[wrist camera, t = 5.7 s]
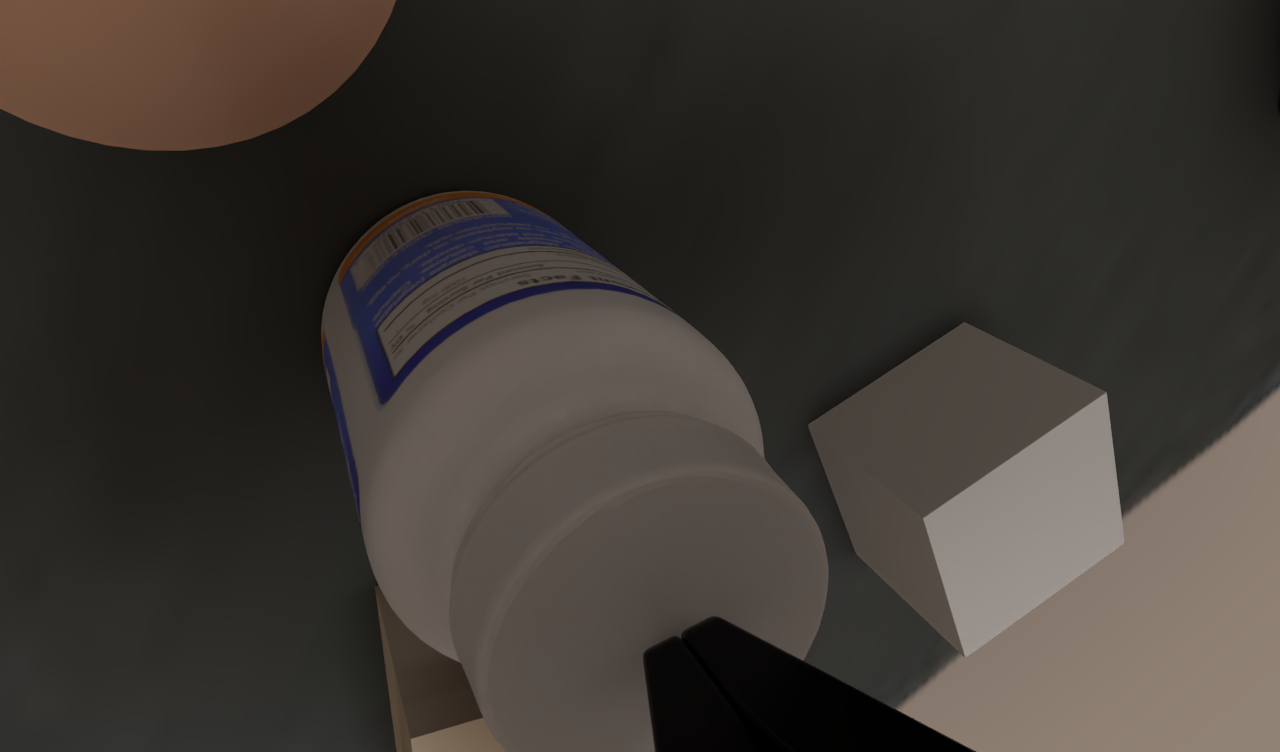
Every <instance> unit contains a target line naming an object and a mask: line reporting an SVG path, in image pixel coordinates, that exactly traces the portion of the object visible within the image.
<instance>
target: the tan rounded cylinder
mask: <svg viewBox="0 0 1280 752" xmlns="http://www.w3.org/2000/svg"><path fill="white" fill-rule="evenodd" d="M395 1H396V0H0V109H2V110H4V111H6V112H8V113H10V114H13V115H15V116H17V117H19V118H21V119H23V120H25V121H27V122H30V123H33V124H35V125H38V126H41V127H44V128H47V129H50V130H52V131H55V132H58V133H61V134H64V135H67V136H70V137H74V138H78V139H82V140H87V141H91V142H95V143H99V144H104V145H108V146H115V147H123V148H131V149H139V150H161V151H185V150H194V149H203V148H211V147H219V146H223V145H227V144H232V143H236V142H240V141H244V140H248V139H252V138H254V137H257V136H259V135H262V134H265V133H267V132H270V131H272V130H275V129H277V128H280V127H282V126H284V125H286V124H288V123H289V122H291V121H293V120H295V119H297V118H298V117H300V116H302V115H304V114H305V113H307V112H309V111H310V110H312V109H313V108H314V107H316V106H317V105H318V104H320V103H321V102H322V101H324V100H325V99H326V98H328V97H329V96H330V95H331V94H333V93H334V92H335V91H336V90H337V89H338V88H339V87H340V86H341V85H342V84H343V83H344V82H345V81H346V80H347V79H348V78H349V77H350V76H351V75H352V74H353V73H354V72H355V71H356V70H357V68H358V67H359V66H360V64H361V63H362V61H363V60H364V59H365V57H366V56H367V55H368V53H369V52H370V51H371V49H372V48H373V47H374V45H375V43H376V42H377V40H378V38H379V36H380V34H381V32H382V30H383V29H384V27H385V25H386V23H387V21H388V19H389V17H390V15H391V12H392V10H393V7H394V4H395Z"/></svg>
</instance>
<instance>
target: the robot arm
mask: <svg viewBox="0 0 1280 752" xmlns="http://www.w3.org/2000/svg"><path fill="white" fill-rule="evenodd" d="M643 665H644V673H645V680H646V688H647V696H648V703H649V711H650V718H651V726H652V734H653V741H654V749H655V752H976V751H974V750H972V749H970V748H968V747H966V746H964V745H962V744H960V743H959V742H957V741H955V740H953V739H951V738H949V737H947V736H945V735H943V734H941V733H939V732H938V731H936V730H934V729H932V728H930V727H928V726H926V725H924V724H922V723H921V722H919V721H917V720H915V719H913V718H911V717H909V716H907V715H905V714H903V713H902V712H900V711H898V710H896V709H894V708H892V707H890V706H888V705H886V704H884V703H883V702H881V701H879V700H877V699H875V698H873V697H871V696H869V695H867V694H865V693H863V692H862V691H860V690H858V689H856V688H854V687H852V686H850V685H848V684H846V683H844V682H843V681H841V680H839V679H837V678H835V677H833V676H831V675H829V674H827V673H825V672H824V671H822V670H820V669H818V668H816V667H814V666H812V665H810V664H808V663H806V662H805V661H803V660H801V659H799V658H797V657H795V656H793V655H791V654H789V653H787V652H786V651H784V650H782V649H780V648H778V647H776V646H774V645H772V644H770V643H768V642H766V641H765V640H763V639H761V638H759V637H757V636H755V635H753V634H751V633H749V632H747V631H746V630H744V629H742V628H740V627H738V626H736V625H734V624H732V623H730V622H728V621H727V620H725V619H723V618H721V617H717V616H711V617H709V618H707V619H705V620H703V621H701V622H699V623H697V624H695V625H693V626H691V627H689V628H687V629H685V630H684V631H683V632H682V634H681V638H680V637H678V636H672V637H669V638H667V639H666V640H664V641H662V642H660V643H658V644H656V645H654V646H652V647H650V648H648V649H646V650H645V652H644V653H643Z"/></svg>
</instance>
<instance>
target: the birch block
mask: <svg viewBox="0 0 1280 752" xmlns="http://www.w3.org/2000/svg"><path fill="white" fill-rule="evenodd" d="M375 592H376V600H377V608H378V615H379V623H380V630H381V638H382V645H383V653H384V661H385V668H386V676H387V683H388V691H389V698H390V706H391V714H392V721H393V729H394V736H395V744H396V751H397V752H507V751H506V750H505V749H504V748H503V747H502V746H501V745H500V743H499V742H498V741H497V740H496V739H495V737H494V736H493V734H492V732H491V730H490V729H489V727H488V725H487V723H486V721H485V719H484V718H483V716H482V714H481V712H480V709H479V706H478V704H477V701H476V699H475V696H474V693H473V691H472V688H471V686H470V683H469V681H468V678H467V676H466V674H465V671H464V669H463V666H462V664H461V663H460V662H458V661H456V660H454V659H451V658H449V657H447V656H445V655H443V654H442V653H440V652H438V651H437V650H435V649H434V648H432V647H430V646H429V645H427V644H426V643H425V642H423V641H422V640H420V639H419V638H418V637H417V636H416V635H415V634H414V633H413V632H412V631H411V630H410V629H408V628H407V627H406V625H405V624H404V623H403V622H402V621H401V619H400V618H399V617H398V616H397V615H396V614H395V612H394V611H393V610H392V608H391V607H390V605H389V604H388V602H387V600H386V598H385V596H384V595H383V593H382V591H381V589H380V587H379V585H377V586H375Z"/></svg>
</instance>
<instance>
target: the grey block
mask: <svg viewBox="0 0 1280 752" xmlns="http://www.w3.org/2000/svg"><path fill="white" fill-rule="evenodd" d="M808 428H809V430H810V433H811V436H812V438H813V441H814V444H815V446H816V449H817V452H818V454H819V457H820V459H821V462H822V465H823V467H824V470H825V473H826V475H827V478H828V481H829V483H830V486H831V489H832V491H833V494H834V497H835V499H836V502H837V505H838V507H839V510H840V513H841V515H842V518H843V521H844V523H845V526H846V528H847V531H848V534H849V536H850V539H851V542H852V544H853V547H854V550H855V552H856V554H857V555H858V556H859V557H860V558H861V559H862V560H863V561H864V562H865V563H866V564H867V565H868V566H869V567H870V568H871V569H873V570H874V571H875V572H876V573H877V574H878V575H879V576H880V577H881V578H882V579H883V580H884V581H885V582H886V583H887V584H888V585H889V586H890V587H891V588H892V589H894V590H895V591H896V592H897V593H898V594H899V595H900V596H901V597H902V598H903V599H904V600H905V601H906V602H907V603H908V604H909V605H910V606H911V607H912V608H913V609H915V610H916V611H917V612H918V613H919V614H920V615H921V616H922V617H923V618H924V619H925V620H926V621H927V622H928V623H929V624H930V625H931V626H932V627H933V628H934V629H936V630H937V631H938V632H939V633H940V634H941V635H942V636H943V637H944V638H945V639H946V640H947V641H948V642H949V643H950V644H951V645H952V646H953V647H954V648H956V649H957V650H958V651H959V652H960V653H961V654H962V655H963V656H964V657H965V658H966V657H968V656H969V655H970V654H972V653H973V652H974V651H976V650H977V649H979V648H980V647H981V646H983V645H984V644H985V643H987V642H988V641H989V640H991V639H992V638H994V637H995V636H997V635H998V634H999V633H1001V632H1002V631H1004V630H1005V629H1006V628H1008V627H1009V626H1010V625H1012V624H1013V623H1014V622H1016V621H1017V620H1018V619H1020V618H1021V617H1023V616H1024V615H1026V614H1027V613H1028V612H1030V611H1031V610H1033V609H1034V608H1035V607H1037V606H1038V605H1039V604H1041V603H1042V602H1044V601H1045V600H1046V599H1048V598H1049V597H1051V596H1052V595H1053V594H1054V593H1056V592H1057V591H1059V590H1060V589H1062V588H1063V587H1064V586H1066V585H1067V584H1068V583H1070V582H1071V581H1073V580H1074V579H1075V578H1077V577H1078V576H1079V575H1081V574H1082V573H1084V572H1085V571H1086V570H1088V569H1089V568H1090V567H1092V566H1093V565H1095V564H1096V563H1098V562H1099V561H1100V560H1102V559H1103V558H1104V557H1106V556H1107V555H1109V554H1110V553H1111V552H1113V551H1114V550H1116V549H1117V548H1118V547H1120V546H1121V545H1122V544H1124V543H1125V542H1124V534H1123V525H1122V517H1121V509H1120V500H1119V492H1118V484H1117V475H1116V467H1115V458H1114V450H1113V442H1112V433H1111V425H1110V417H1109V408H1108V400H1107V392H1105V391H1103V390H1101V389H1099V388H1097V387H1095V386H1093V385H1091V384H1089V383H1087V382H1085V381H1083V380H1081V379H1079V378H1077V377H1075V376H1073V375H1071V374H1069V373H1067V372H1065V371H1063V370H1061V369H1059V368H1056V367H1054V366H1052V365H1050V364H1048V363H1046V362H1044V361H1042V360H1040V359H1038V358H1036V357H1034V356H1032V355H1030V354H1028V353H1026V352H1024V351H1022V350H1020V349H1018V348H1016V347H1014V346H1012V345H1010V344H1008V343H1006V342H1004V341H1002V340H1000V339H998V338H996V337H994V336H992V335H990V334H988V333H986V332H984V331H982V330H980V329H978V328H976V327H974V326H972V325H970V324H968V323H966V322H964V323H962V324H961V325H959V326H958V327H956V328H955V329H953V330H952V331H950V332H949V333H947V334H946V335H944V336H942V337H941V338H939V339H938V340H936V341H935V342H933V343H932V344H930V345H929V346H927V347H926V348H924V349H923V350H921V351H920V352H918V353H916V354H915V355H913V356H912V357H910V358H909V359H907V360H906V361H904V362H903V363H901V364H900V365H898V366H897V367H895V368H894V369H892V370H891V371H889V372H887V373H886V374H884V375H883V376H881V377H880V378H878V379H877V380H875V381H874V382H872V383H871V384H869V385H868V386H866V387H865V388H863V389H862V390H860V391H858V392H857V393H855V394H854V395H852V396H851V397H849V398H848V399H846V400H845V401H843V402H842V403H840V404H839V405H837V406H836V407H834V408H833V409H831V410H829V411H828V412H826V413H825V414H823V415H822V416H820V417H819V418H817V419H816V420H814V421H813V422H811V423H810V424H808Z"/></svg>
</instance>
